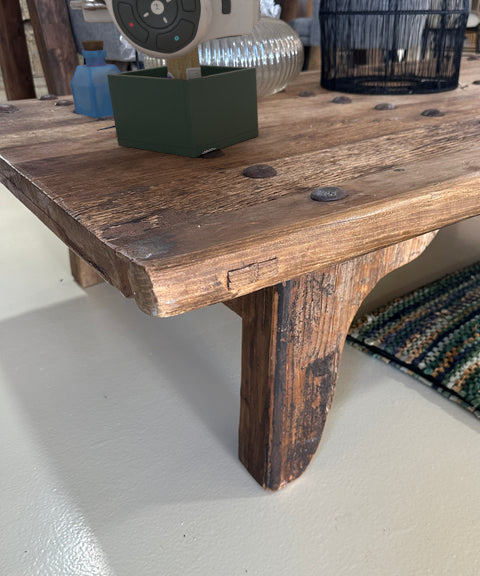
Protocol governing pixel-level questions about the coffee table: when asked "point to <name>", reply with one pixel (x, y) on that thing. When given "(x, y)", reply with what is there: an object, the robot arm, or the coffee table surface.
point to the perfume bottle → (93, 82)
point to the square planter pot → (184, 109)
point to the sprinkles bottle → (185, 66)
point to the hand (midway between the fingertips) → (176, 1)
